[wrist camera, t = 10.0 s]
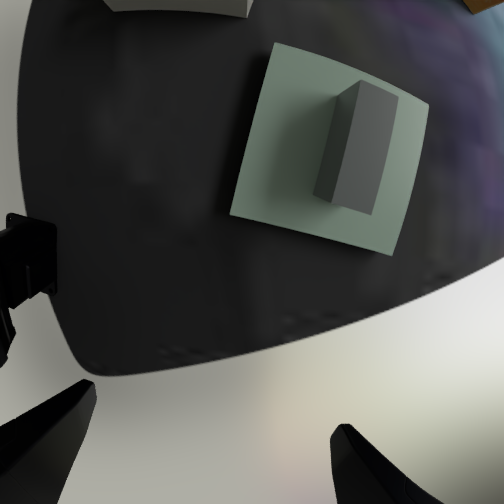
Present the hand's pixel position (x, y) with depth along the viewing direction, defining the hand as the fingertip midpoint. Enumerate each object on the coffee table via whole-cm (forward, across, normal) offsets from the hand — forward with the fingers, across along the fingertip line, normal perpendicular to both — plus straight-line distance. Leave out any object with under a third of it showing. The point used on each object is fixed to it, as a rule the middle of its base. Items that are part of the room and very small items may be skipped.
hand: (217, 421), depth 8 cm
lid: (+13, -5, -11) cm, 18 cm away
